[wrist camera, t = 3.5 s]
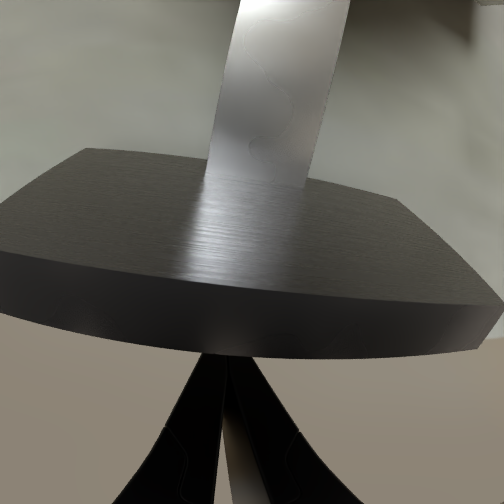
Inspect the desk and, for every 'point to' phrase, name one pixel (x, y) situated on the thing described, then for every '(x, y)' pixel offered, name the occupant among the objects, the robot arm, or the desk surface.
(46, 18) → the desk surface
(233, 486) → the robot arm
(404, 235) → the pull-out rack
